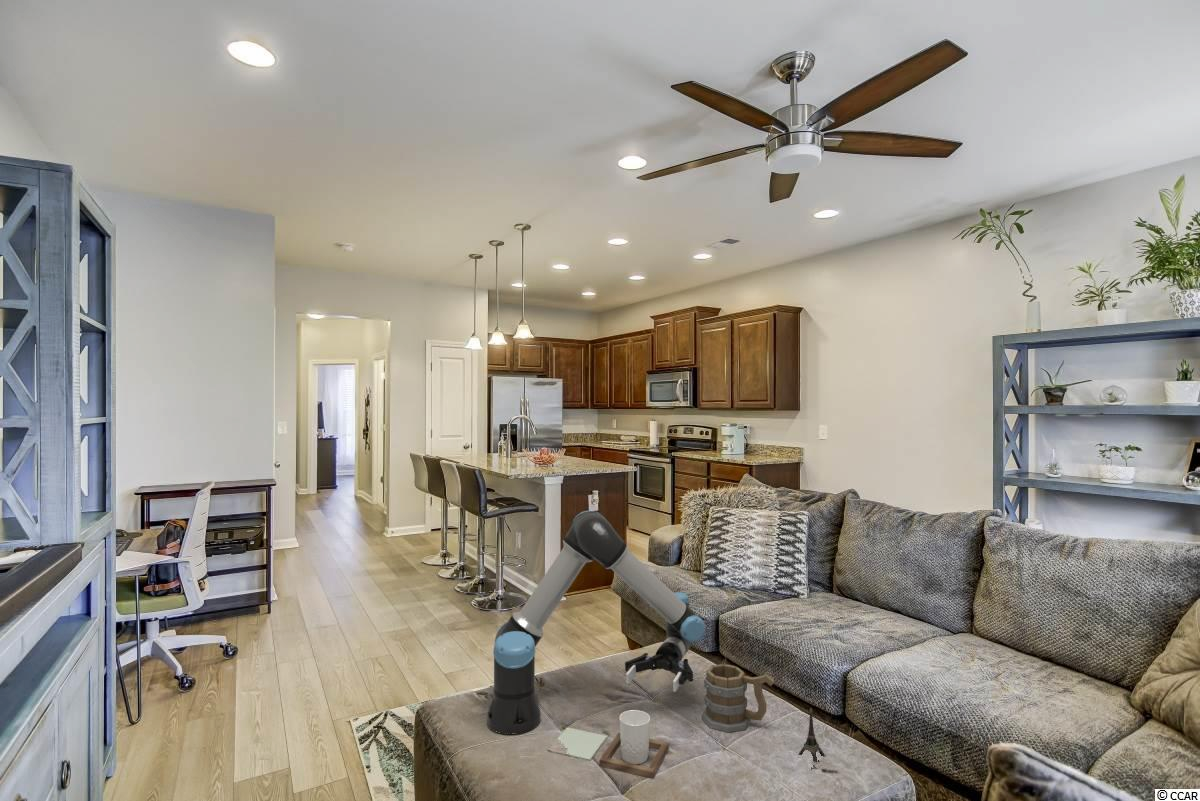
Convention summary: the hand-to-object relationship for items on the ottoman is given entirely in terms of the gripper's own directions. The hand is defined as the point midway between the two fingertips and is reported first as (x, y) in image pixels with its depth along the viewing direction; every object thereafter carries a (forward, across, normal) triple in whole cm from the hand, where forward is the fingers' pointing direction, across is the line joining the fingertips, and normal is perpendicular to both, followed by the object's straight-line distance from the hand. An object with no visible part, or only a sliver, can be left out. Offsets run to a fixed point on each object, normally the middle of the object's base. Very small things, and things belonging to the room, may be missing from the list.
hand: (650, 682), depth 160 cm
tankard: (-15, -21, -15) cm, 30 cm away
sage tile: (+12, +17, -14) cm, 25 cm away
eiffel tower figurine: (-6, -41, -15) cm, 44 cm away
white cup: (+12, +1, -14) cm, 18 cm away
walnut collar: (+12, +1, -14) cm, 18 cm away
